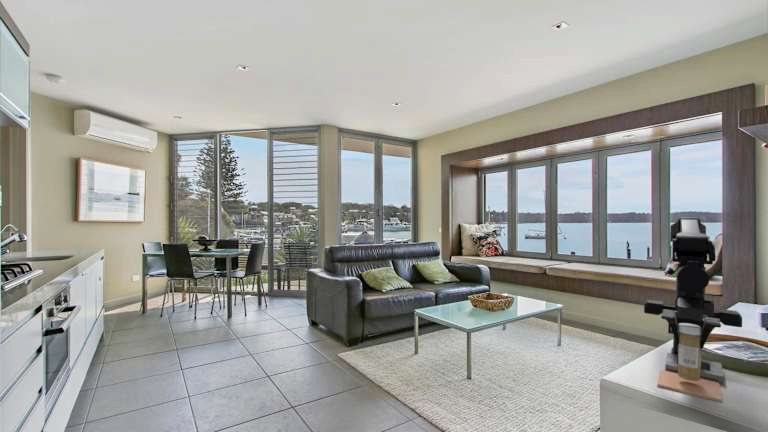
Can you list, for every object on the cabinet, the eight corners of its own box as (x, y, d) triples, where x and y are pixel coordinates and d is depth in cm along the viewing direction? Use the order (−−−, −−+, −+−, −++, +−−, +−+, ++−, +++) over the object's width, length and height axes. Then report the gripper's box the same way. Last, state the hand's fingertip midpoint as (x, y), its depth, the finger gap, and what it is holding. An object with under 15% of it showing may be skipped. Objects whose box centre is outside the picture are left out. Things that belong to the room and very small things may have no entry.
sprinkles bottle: (703, 379, 93) (704, 325, 93) (696, 383, 91) (697, 328, 91) (681, 372, 97) (682, 321, 97) (674, 376, 95) (675, 323, 95)
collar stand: (667, 359, 112) (667, 352, 112) (720, 370, 104) (721, 363, 104) (665, 371, 102) (665, 364, 102) (723, 384, 95) (724, 376, 95)
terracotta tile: (660, 371, 102) (660, 369, 102) (718, 384, 95) (718, 382, 95) (657, 386, 93) (657, 383, 93) (722, 402, 85) (722, 399, 85)
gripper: (642, 284, 94) (641, 345, 94) (745, 295, 82) (744, 366, 82) (646, 278, 102) (645, 335, 102) (740, 288, 90) (738, 352, 90)
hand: (689, 346), depth 94 cm, fingers closed on sprinkles bottle, 4 cm apart
